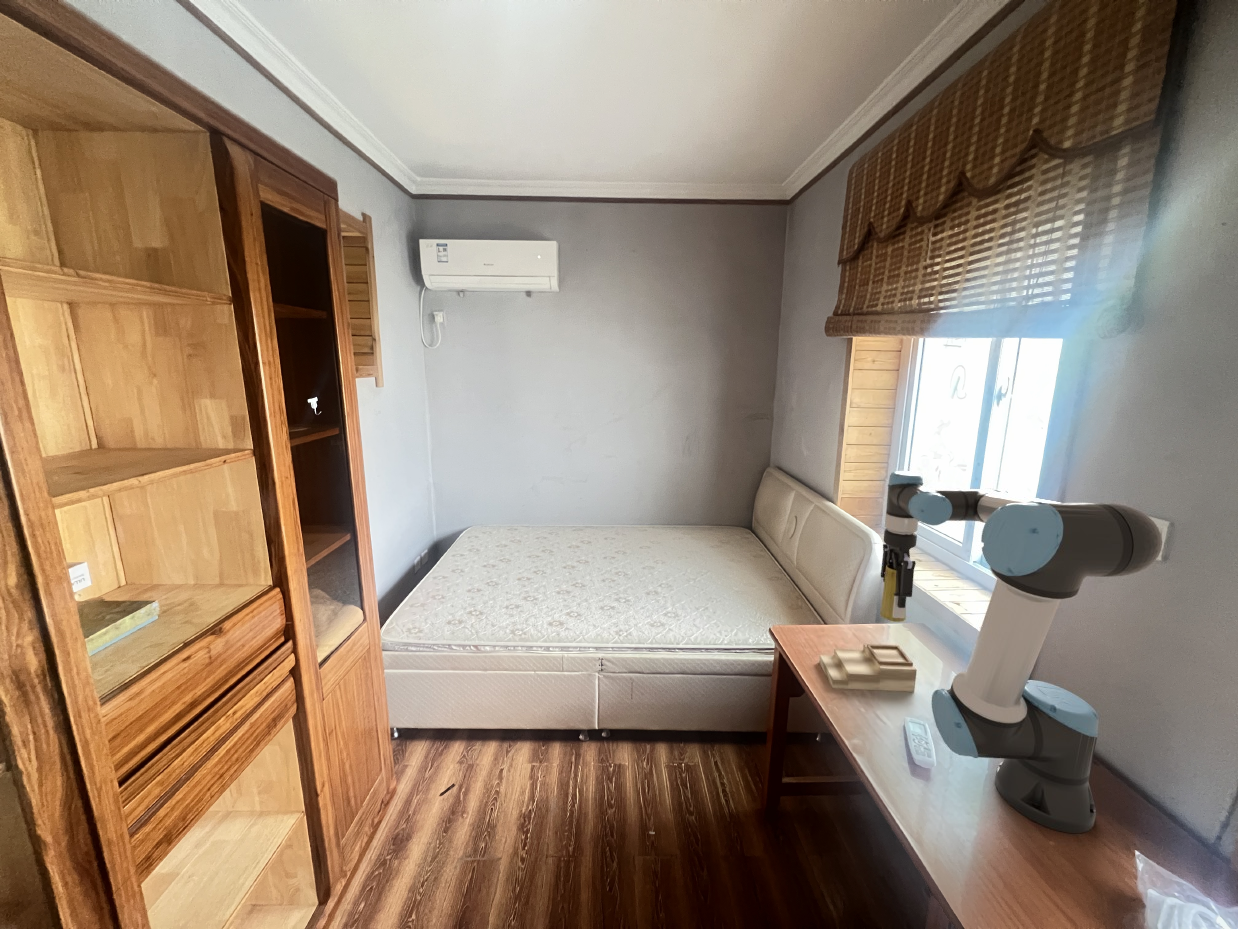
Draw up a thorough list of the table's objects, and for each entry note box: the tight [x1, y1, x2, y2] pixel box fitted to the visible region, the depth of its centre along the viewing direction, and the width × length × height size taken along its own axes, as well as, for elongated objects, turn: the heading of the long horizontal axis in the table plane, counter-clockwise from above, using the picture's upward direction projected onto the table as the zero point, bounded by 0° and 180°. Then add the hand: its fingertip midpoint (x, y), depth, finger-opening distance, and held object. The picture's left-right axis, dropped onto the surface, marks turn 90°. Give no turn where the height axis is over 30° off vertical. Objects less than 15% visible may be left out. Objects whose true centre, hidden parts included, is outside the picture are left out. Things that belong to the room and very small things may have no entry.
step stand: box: [818, 643, 917, 693], centre depth 138 cm, size 12×21×7 cm, turn 84°
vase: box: [879, 564, 907, 623], centre depth 134 cm, size 6×6×14 cm
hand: (893, 611), depth 135 cm, fingers closed on vase, 6 cm apart
